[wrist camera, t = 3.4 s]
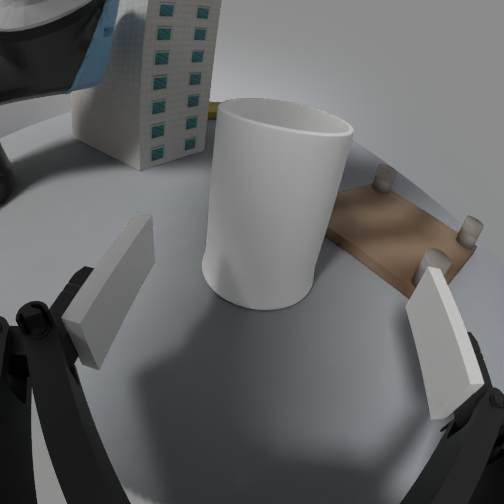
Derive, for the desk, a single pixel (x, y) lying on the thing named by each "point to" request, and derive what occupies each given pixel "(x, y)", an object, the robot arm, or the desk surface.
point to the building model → (152, 83)
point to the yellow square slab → (213, 109)
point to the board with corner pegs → (398, 234)
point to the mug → (271, 199)
